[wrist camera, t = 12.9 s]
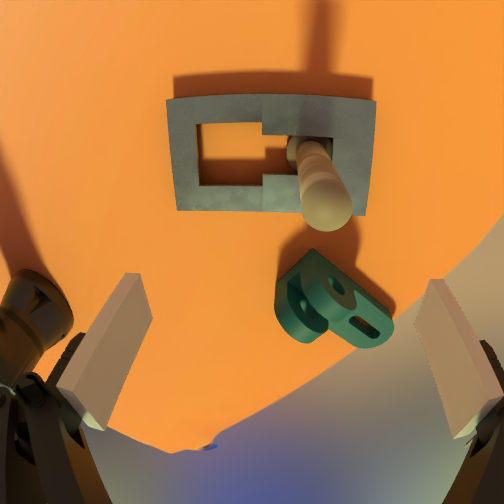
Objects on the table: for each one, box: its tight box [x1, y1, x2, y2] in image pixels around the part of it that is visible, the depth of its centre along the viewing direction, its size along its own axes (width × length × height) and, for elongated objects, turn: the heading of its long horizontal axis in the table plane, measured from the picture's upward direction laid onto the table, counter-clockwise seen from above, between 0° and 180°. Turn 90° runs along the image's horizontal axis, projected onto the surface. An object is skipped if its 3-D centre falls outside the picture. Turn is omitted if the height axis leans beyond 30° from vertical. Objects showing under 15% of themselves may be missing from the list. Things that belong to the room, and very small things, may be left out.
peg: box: [286, 136, 353, 232], centre depth 24 cm, size 5×5×15 cm
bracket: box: [274, 248, 394, 348], centre depth 37 cm, size 18×7×8 cm, turn 52°
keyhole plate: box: [166, 93, 376, 216], centre depth 30 cm, size 20×12×2 cm, turn 91°
